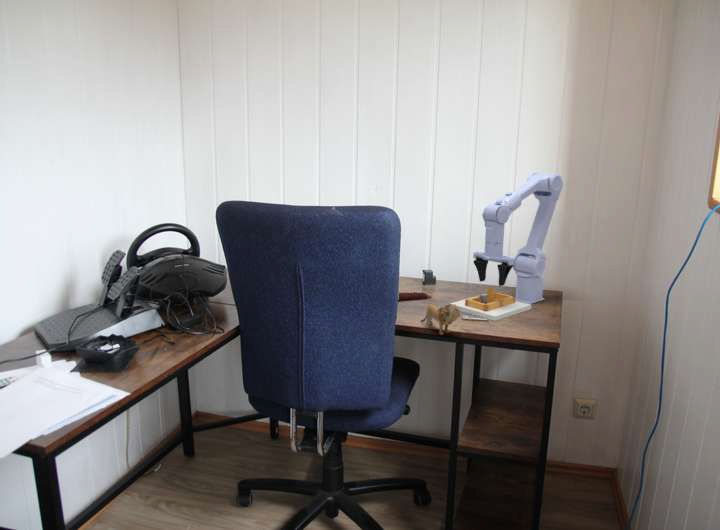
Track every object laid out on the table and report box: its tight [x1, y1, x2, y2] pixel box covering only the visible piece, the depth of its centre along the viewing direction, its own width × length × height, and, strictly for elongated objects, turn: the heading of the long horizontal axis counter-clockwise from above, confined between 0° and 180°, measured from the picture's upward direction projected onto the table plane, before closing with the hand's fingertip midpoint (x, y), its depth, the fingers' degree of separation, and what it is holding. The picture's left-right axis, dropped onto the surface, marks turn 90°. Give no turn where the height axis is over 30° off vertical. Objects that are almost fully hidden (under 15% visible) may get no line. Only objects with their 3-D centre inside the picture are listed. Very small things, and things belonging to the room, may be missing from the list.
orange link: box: [464, 286, 516, 312], centre depth 176 cm, size 16×8×6 cm, turn 131°
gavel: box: [398, 292, 432, 301], centre depth 186 cm, size 21×5×10 cm
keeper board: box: [449, 293, 532, 322], centre depth 176 cm, size 20×18×5 cm
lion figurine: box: [420, 303, 462, 336], centre depth 155 cm, size 15×5×9 cm, turn 38°
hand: (491, 283), depth 175 cm, fingers open, 7 cm apart
